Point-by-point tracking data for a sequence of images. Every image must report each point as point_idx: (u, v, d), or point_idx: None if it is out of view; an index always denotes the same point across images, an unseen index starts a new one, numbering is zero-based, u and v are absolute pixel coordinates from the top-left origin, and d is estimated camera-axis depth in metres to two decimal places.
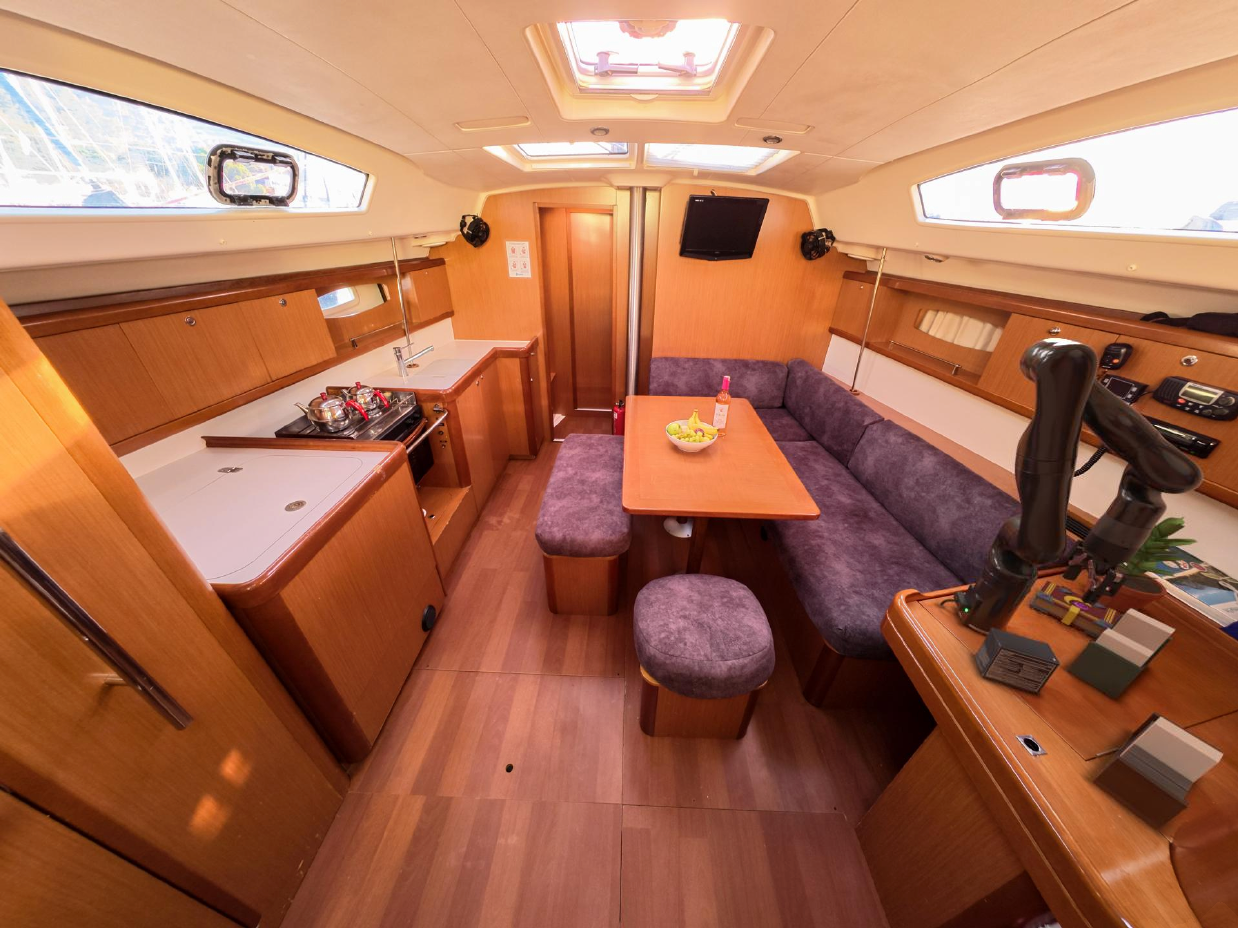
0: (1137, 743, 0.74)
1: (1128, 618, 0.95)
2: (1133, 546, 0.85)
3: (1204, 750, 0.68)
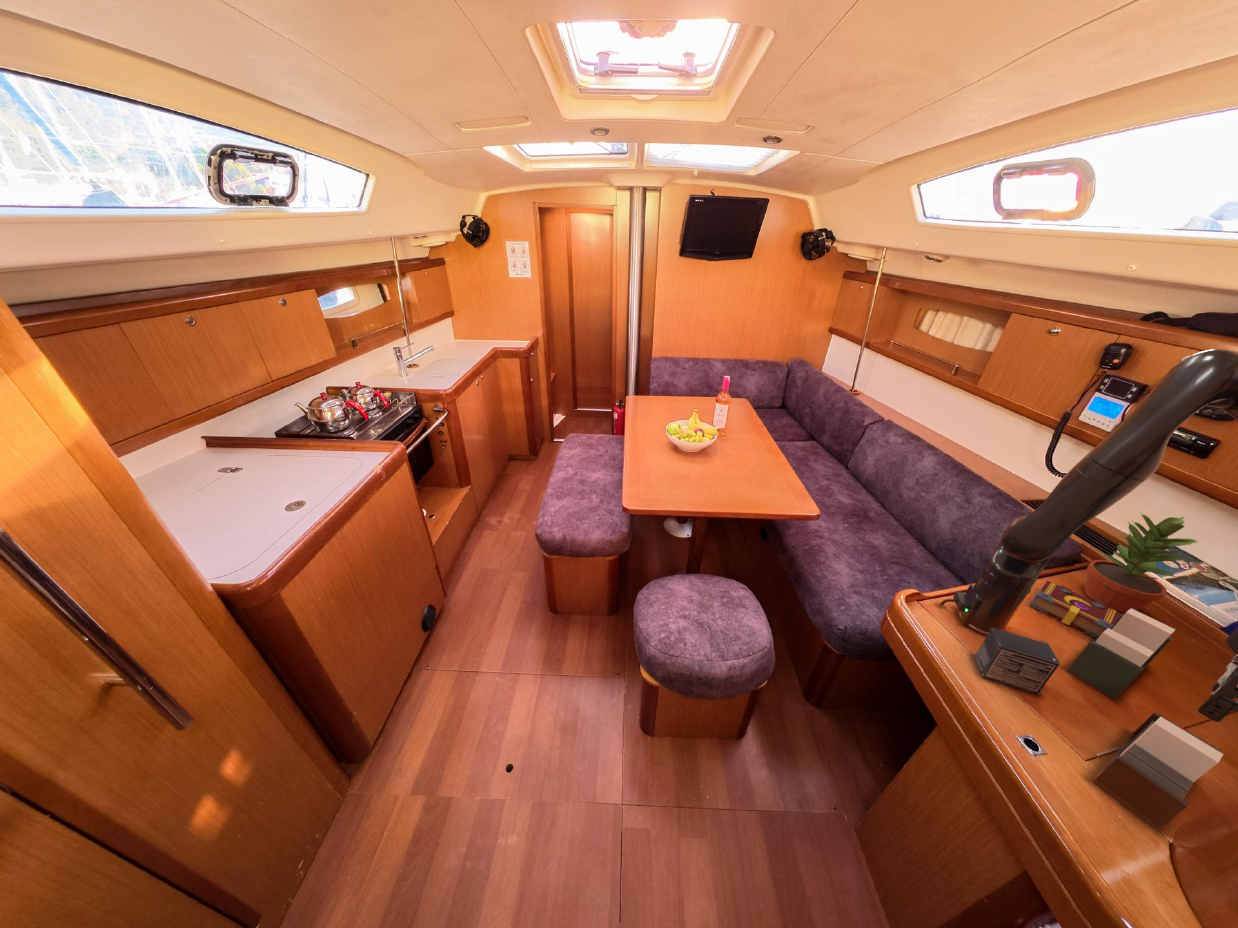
0: (1137, 743, 0.74)
1: (1128, 618, 0.95)
2: None
3: (1204, 750, 0.68)
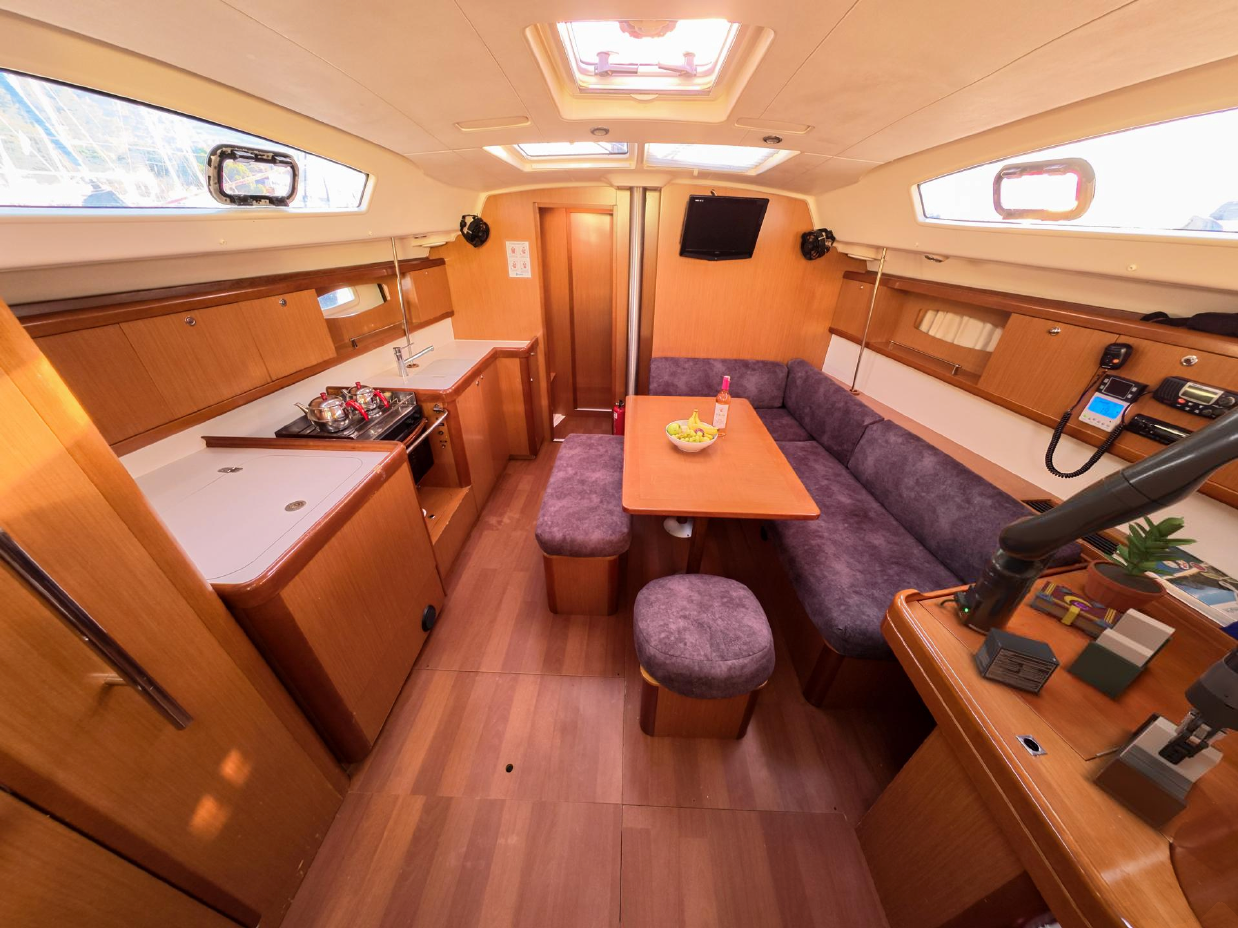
0: (1137, 743, 0.74)
1: (1128, 618, 0.95)
2: None
3: (1204, 750, 0.68)
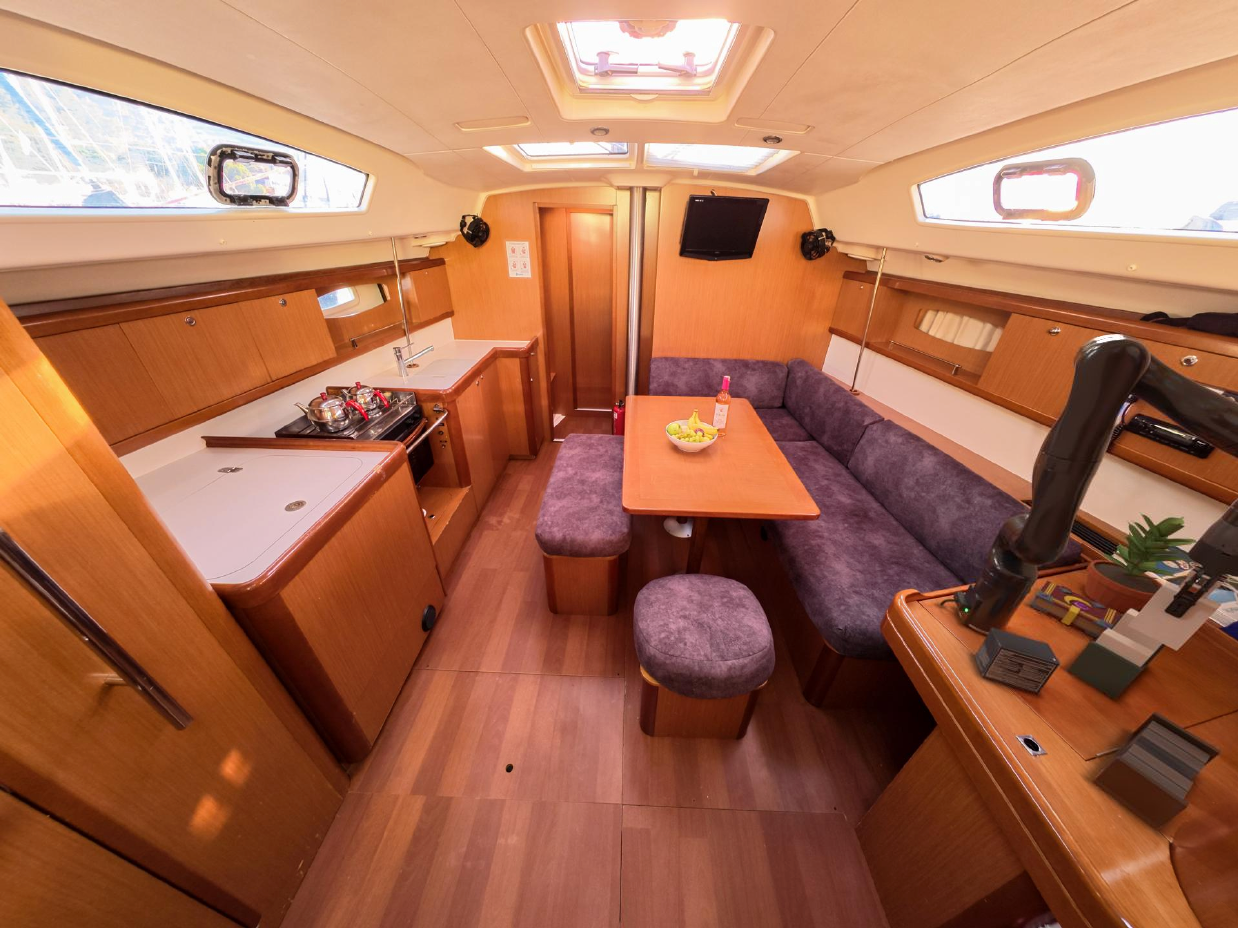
0: (1146, 606, 0.85)
1: (1128, 618, 0.95)
2: None
3: (1205, 601, 0.79)
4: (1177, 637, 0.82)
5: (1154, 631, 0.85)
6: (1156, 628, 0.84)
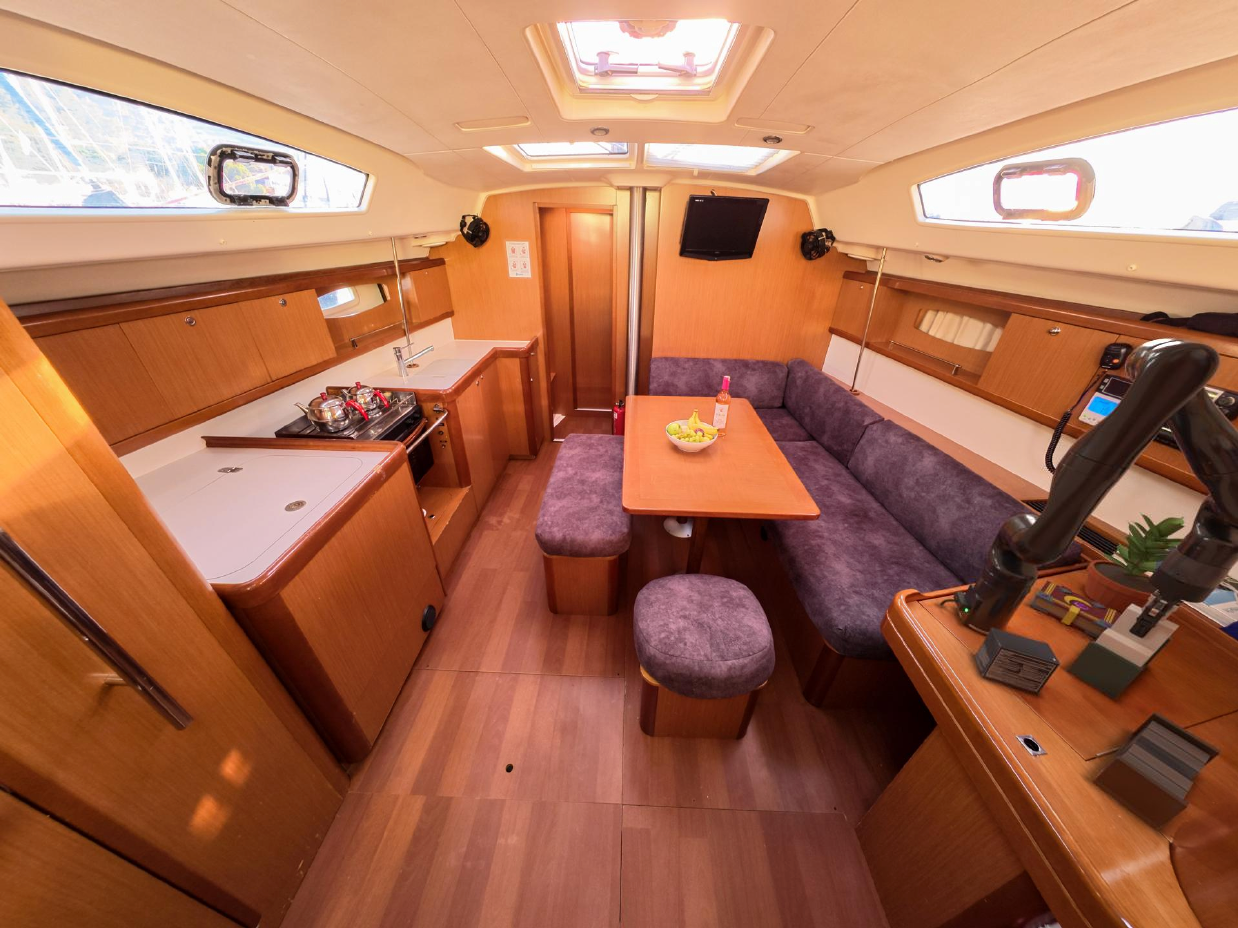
0: (1114, 626, 0.93)
1: None
2: (1190, 582, 0.81)
3: (1164, 623, 0.87)
4: None
5: None
6: None
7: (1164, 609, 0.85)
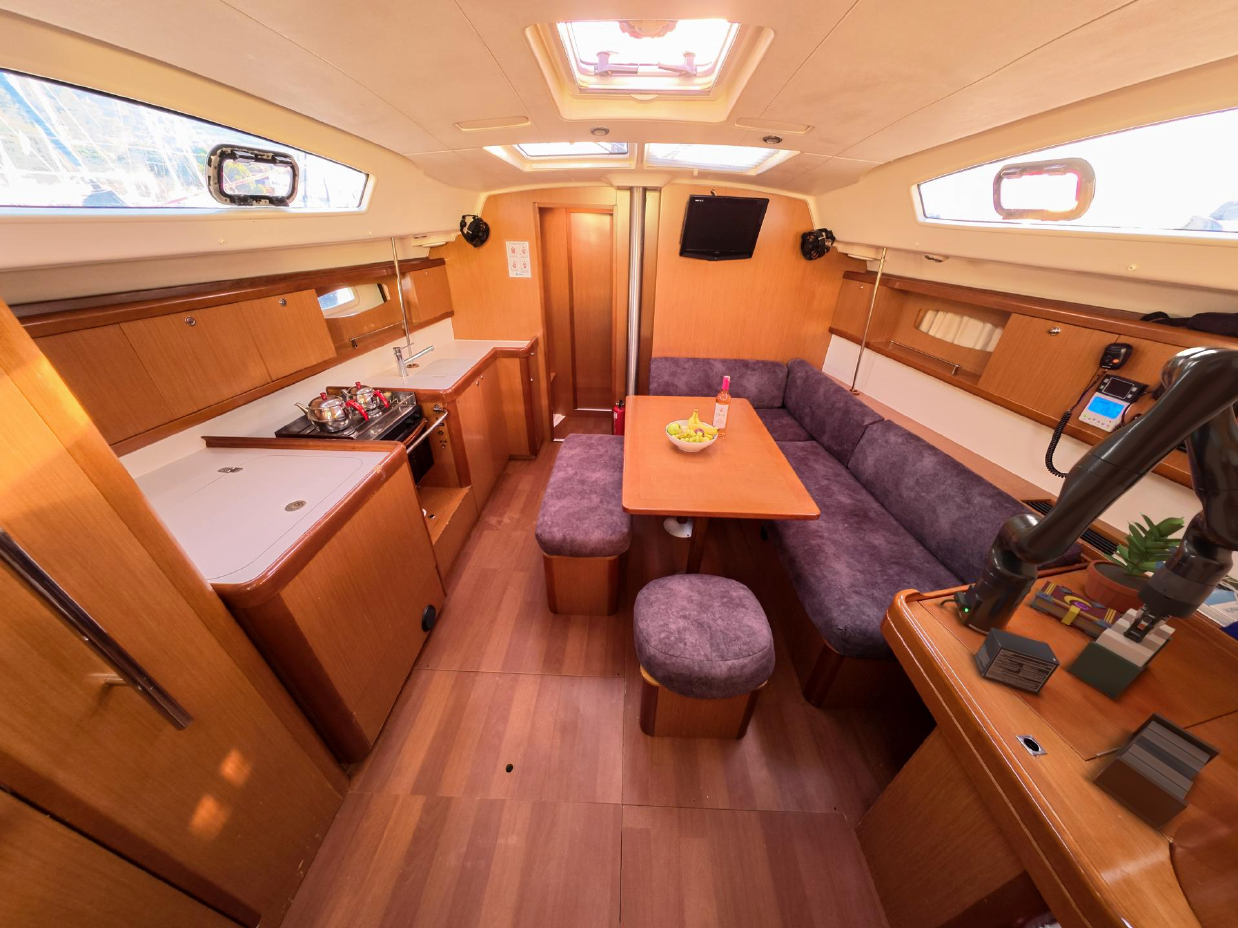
0: None
1: (1128, 618, 0.95)
2: (1177, 598, 0.83)
3: (1151, 638, 0.89)
4: None
5: None
6: None
7: (1151, 624, 0.87)
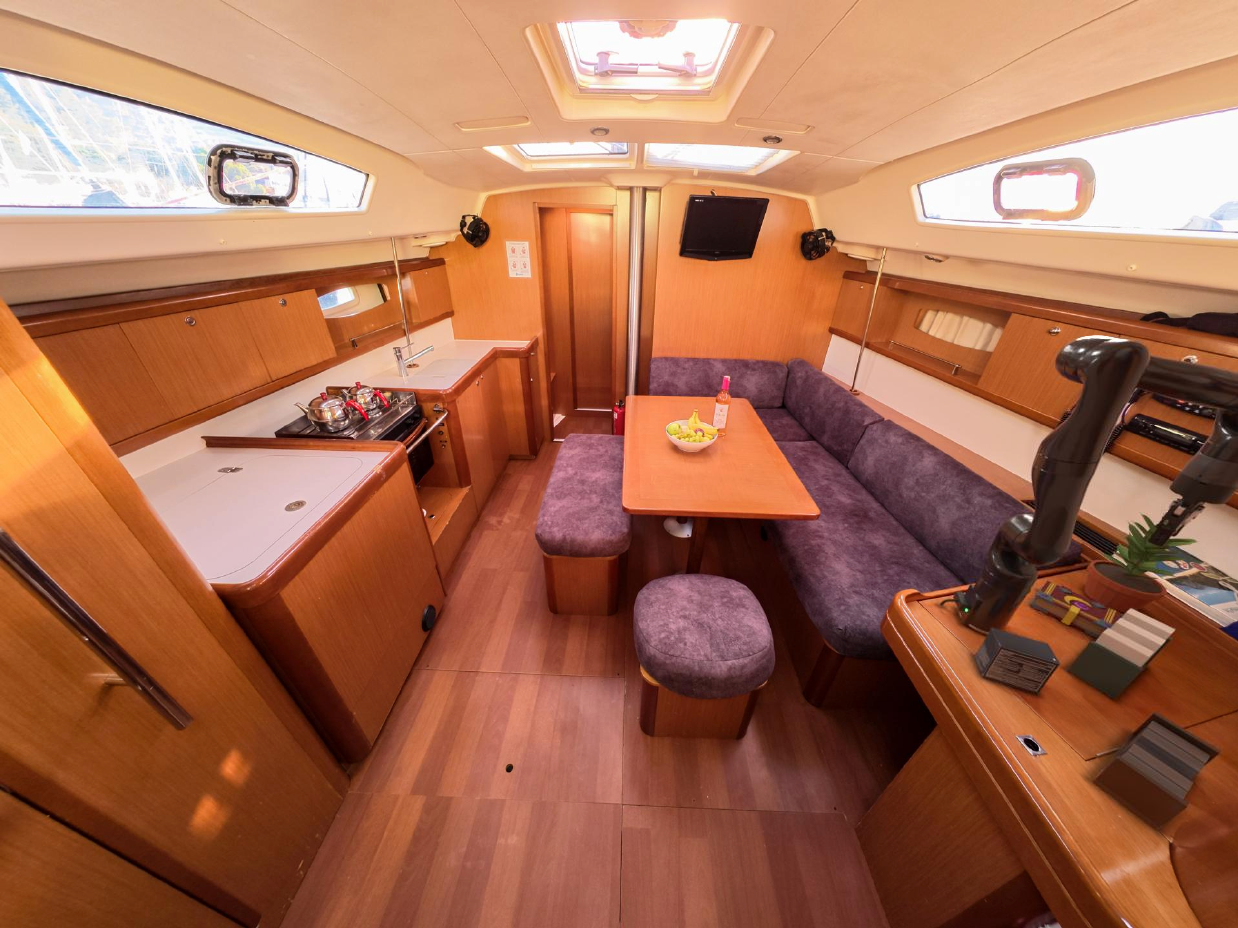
0: None
1: (1128, 618, 0.95)
2: (1213, 482, 0.81)
3: (1151, 638, 0.89)
4: None
5: None
6: None
7: None
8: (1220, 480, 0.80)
